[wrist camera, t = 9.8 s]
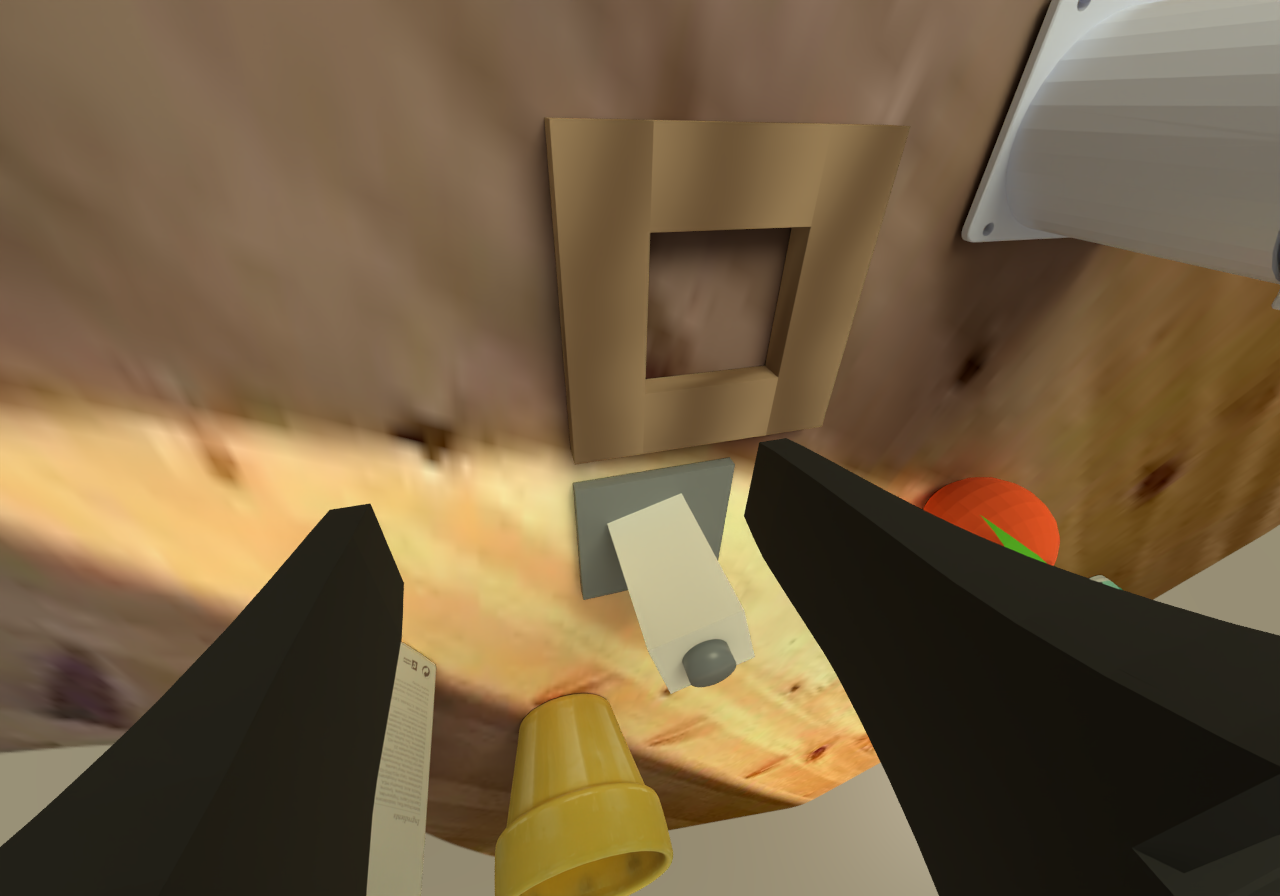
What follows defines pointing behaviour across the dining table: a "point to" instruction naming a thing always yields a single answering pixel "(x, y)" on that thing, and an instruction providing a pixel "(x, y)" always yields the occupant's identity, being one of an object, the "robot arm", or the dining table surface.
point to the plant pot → (579, 808)
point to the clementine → (999, 515)
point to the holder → (699, 201)
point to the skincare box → (403, 781)
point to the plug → (681, 595)
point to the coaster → (634, 492)
